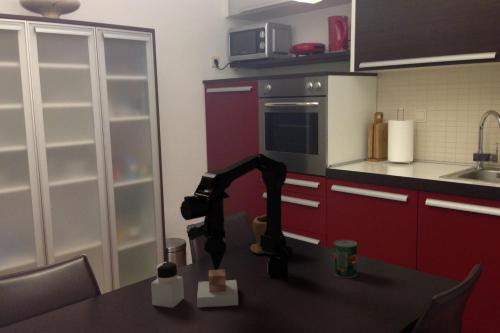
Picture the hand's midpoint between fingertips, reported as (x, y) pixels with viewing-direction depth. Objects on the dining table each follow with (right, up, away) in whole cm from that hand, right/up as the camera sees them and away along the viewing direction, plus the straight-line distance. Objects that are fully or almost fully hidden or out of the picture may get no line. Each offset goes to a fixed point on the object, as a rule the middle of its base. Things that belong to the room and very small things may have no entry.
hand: (216, 264), depth 139 cm
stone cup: (+18, -5, +44) cm, 47 cm away
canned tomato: (+43, -7, +19) cm, 48 cm away
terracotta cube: (0, -8, +1) cm, 8 cm away
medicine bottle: (-15, -12, 0) cm, 19 cm away
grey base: (0, -11, +2) cm, 11 cm away
